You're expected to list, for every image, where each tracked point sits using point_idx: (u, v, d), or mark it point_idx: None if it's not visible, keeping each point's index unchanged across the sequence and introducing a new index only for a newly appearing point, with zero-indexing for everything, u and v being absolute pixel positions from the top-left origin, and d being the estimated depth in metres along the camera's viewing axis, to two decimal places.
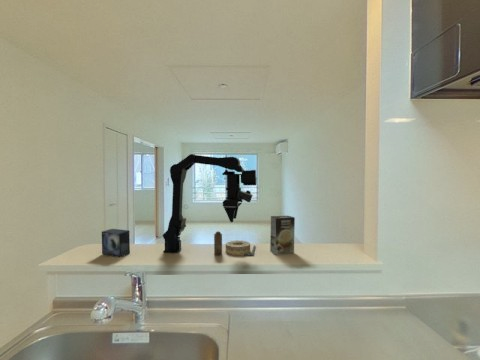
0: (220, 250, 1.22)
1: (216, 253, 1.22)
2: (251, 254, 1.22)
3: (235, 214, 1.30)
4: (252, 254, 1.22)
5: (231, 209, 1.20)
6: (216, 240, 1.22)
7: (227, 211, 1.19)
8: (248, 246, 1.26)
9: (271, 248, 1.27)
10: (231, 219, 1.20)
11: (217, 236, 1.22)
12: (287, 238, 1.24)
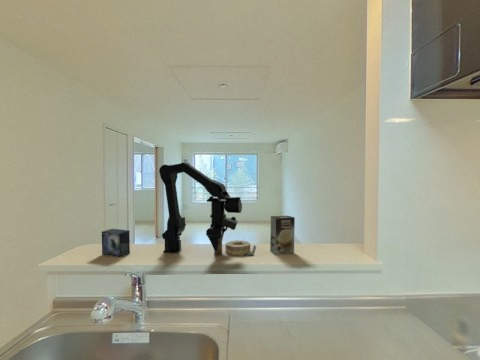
0: (220, 250, 1.22)
1: (216, 253, 1.22)
2: (251, 254, 1.22)
3: None
4: (252, 254, 1.22)
5: (215, 237, 1.18)
6: None
7: (211, 239, 1.18)
8: (248, 246, 1.26)
9: (271, 248, 1.27)
10: (215, 248, 1.19)
11: None
12: (287, 238, 1.24)
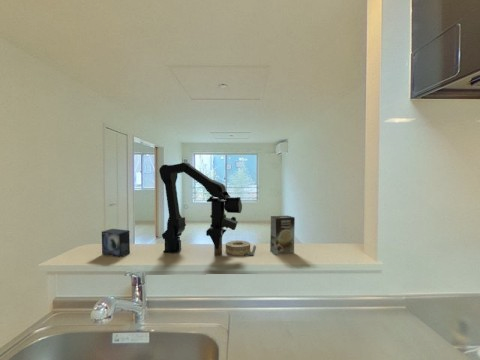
0: (220, 250, 1.22)
1: (216, 253, 1.22)
2: (251, 254, 1.22)
3: None
4: (252, 254, 1.22)
5: (216, 236, 1.21)
6: None
7: (212, 238, 1.20)
8: (248, 246, 1.26)
9: (271, 248, 1.27)
10: (217, 246, 1.21)
11: None
12: (287, 238, 1.24)
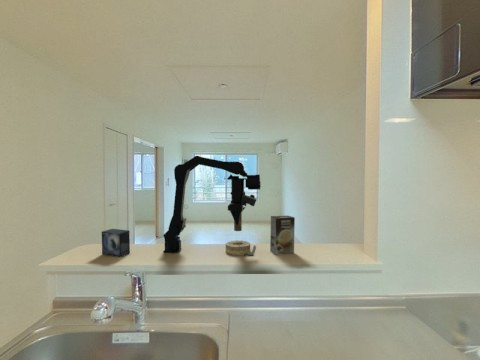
0: (240, 225, 1.27)
1: (236, 229, 1.27)
2: (251, 254, 1.22)
3: None
4: (252, 254, 1.22)
5: (237, 212, 1.25)
6: None
7: (233, 214, 1.25)
8: (248, 246, 1.26)
9: (271, 248, 1.27)
10: (237, 222, 1.26)
11: None
12: (287, 238, 1.24)
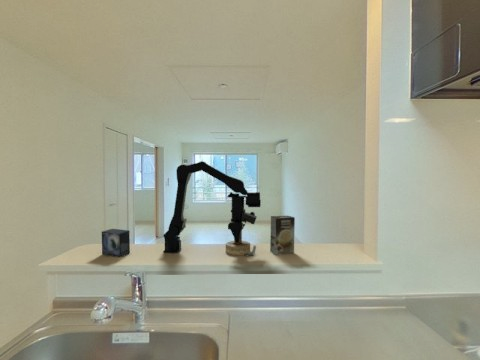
0: (240, 243, 1.27)
1: None
2: (251, 254, 1.22)
3: None
4: (252, 254, 1.22)
5: (237, 230, 1.25)
6: None
7: (233, 232, 1.25)
8: (248, 246, 1.26)
9: (271, 248, 1.27)
10: (237, 240, 1.26)
11: None
12: (287, 238, 1.24)
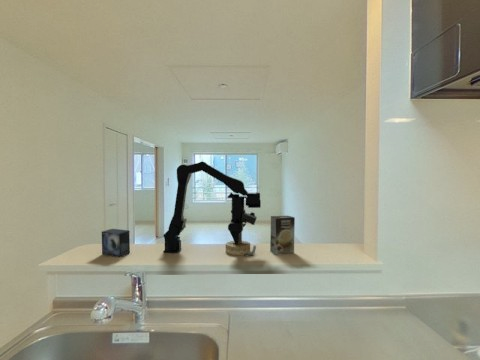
0: None
1: None
2: (251, 254, 1.22)
3: None
4: (252, 254, 1.22)
5: (236, 232, 1.23)
6: None
7: (232, 234, 1.23)
8: (248, 246, 1.26)
9: (271, 248, 1.27)
10: (236, 242, 1.24)
11: None
12: (287, 238, 1.24)
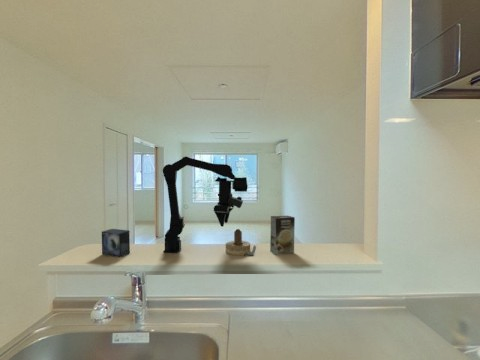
0: None
1: None
2: (251, 254, 1.22)
3: (226, 219, 1.37)
4: (252, 254, 1.22)
5: (222, 214, 1.27)
6: (236, 237, 1.27)
7: (218, 216, 1.26)
8: (248, 246, 1.26)
9: (271, 248, 1.27)
10: (222, 224, 1.27)
11: (237, 233, 1.27)
12: (287, 238, 1.24)
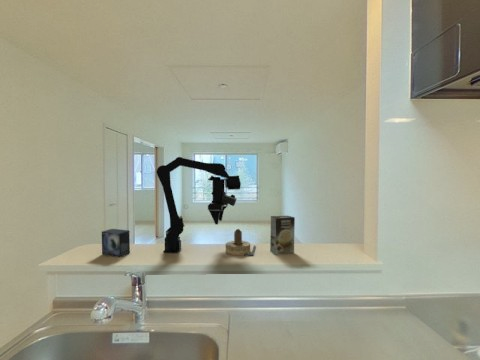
0: None
1: None
2: (251, 254, 1.22)
3: (221, 217, 1.39)
4: (252, 254, 1.22)
5: (216, 212, 1.29)
6: (236, 237, 1.27)
7: (212, 214, 1.29)
8: (248, 246, 1.26)
9: (271, 248, 1.27)
10: (216, 222, 1.30)
11: (237, 233, 1.27)
12: (287, 238, 1.24)
